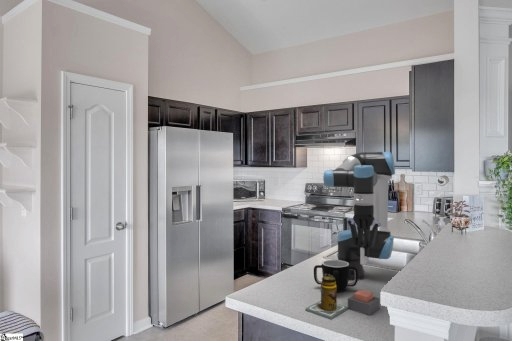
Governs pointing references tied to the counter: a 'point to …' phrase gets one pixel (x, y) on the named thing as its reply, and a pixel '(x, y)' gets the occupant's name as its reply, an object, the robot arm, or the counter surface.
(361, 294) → the button
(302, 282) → the counter surface
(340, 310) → the slate board
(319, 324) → the counter surface
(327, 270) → the mug
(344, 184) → the robot arm
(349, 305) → the button housing
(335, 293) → the condiment
